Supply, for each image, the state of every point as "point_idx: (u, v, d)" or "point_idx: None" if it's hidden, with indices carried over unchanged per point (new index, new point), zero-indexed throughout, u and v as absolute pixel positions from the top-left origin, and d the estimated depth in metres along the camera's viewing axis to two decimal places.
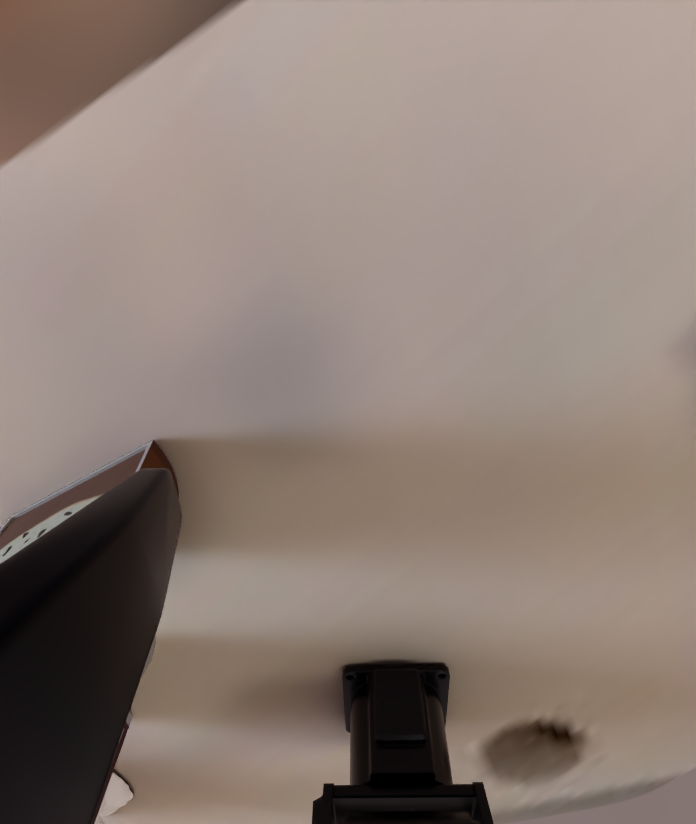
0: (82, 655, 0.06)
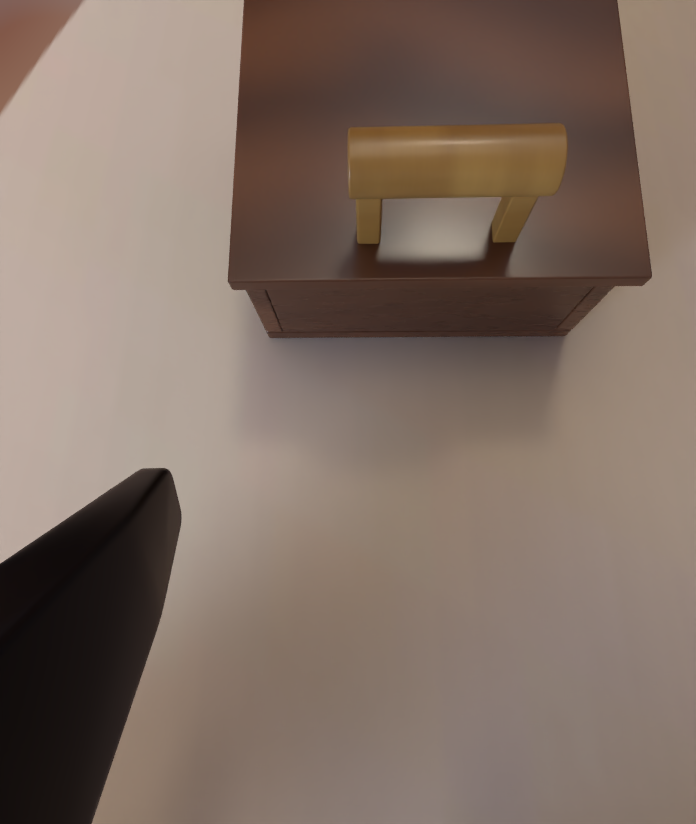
0: (82, 655, 0.06)
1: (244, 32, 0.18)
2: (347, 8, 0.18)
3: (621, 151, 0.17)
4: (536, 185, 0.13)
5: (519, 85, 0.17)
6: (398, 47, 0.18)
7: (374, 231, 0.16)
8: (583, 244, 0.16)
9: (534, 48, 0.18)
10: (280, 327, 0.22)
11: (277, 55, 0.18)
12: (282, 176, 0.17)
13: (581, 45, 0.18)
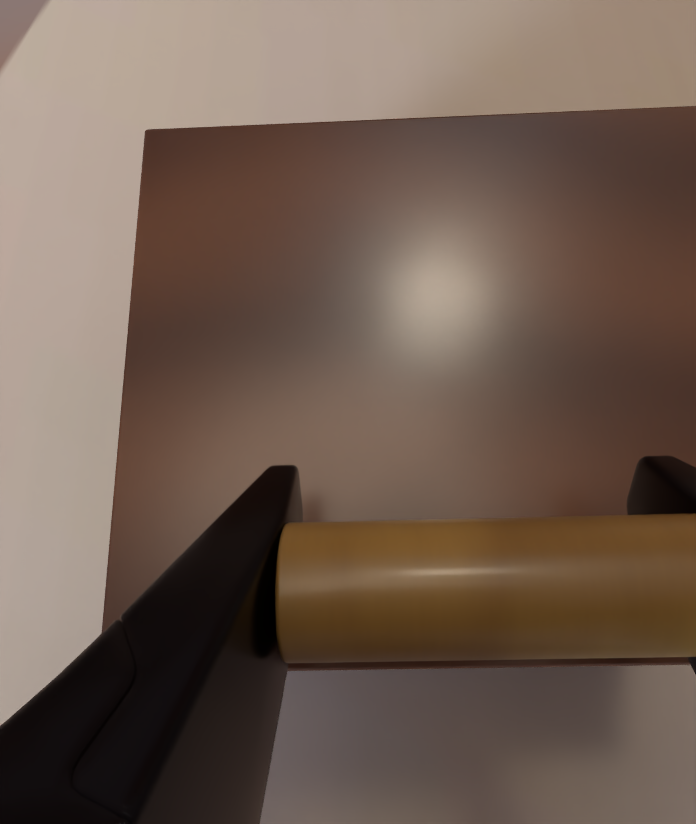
0: (259, 652, 0.06)
1: (141, 215, 0.12)
2: (301, 174, 0.12)
3: None
4: None
5: (578, 302, 0.11)
6: (381, 238, 0.11)
7: None
8: None
9: (596, 238, 0.11)
10: None
11: (191, 253, 0.11)
12: (195, 468, 0.10)
13: (671, 232, 0.11)
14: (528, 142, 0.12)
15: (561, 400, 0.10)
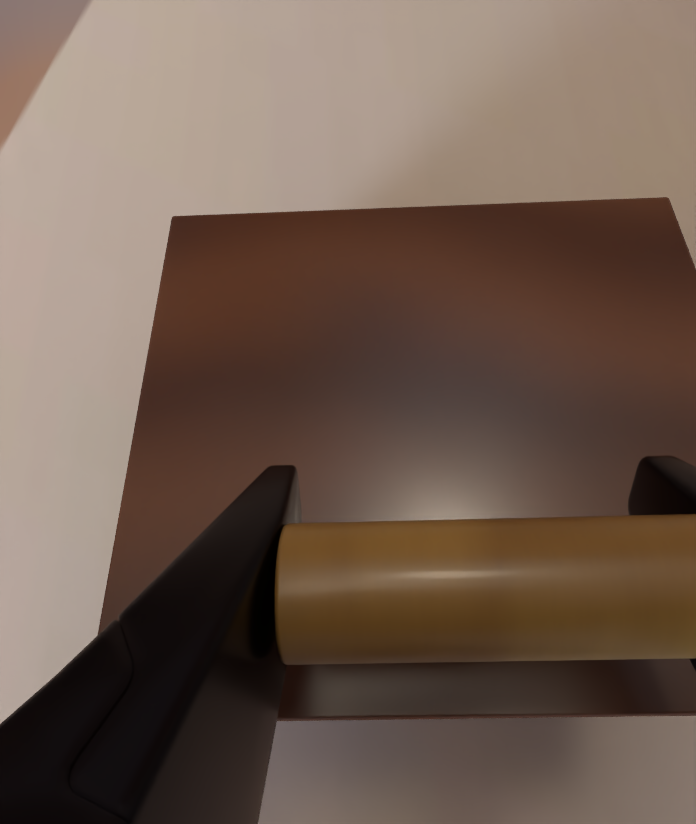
0: (257, 652, 0.06)
1: (163, 284, 0.13)
2: (308, 251, 0.13)
3: None
4: (683, 654, 0.06)
5: (566, 357, 0.12)
6: (381, 303, 0.12)
7: None
8: None
9: (578, 303, 0.12)
10: None
11: (206, 315, 0.12)
12: (198, 509, 0.10)
13: (646, 297, 0.12)
14: (511, 225, 0.13)
15: (556, 445, 0.11)
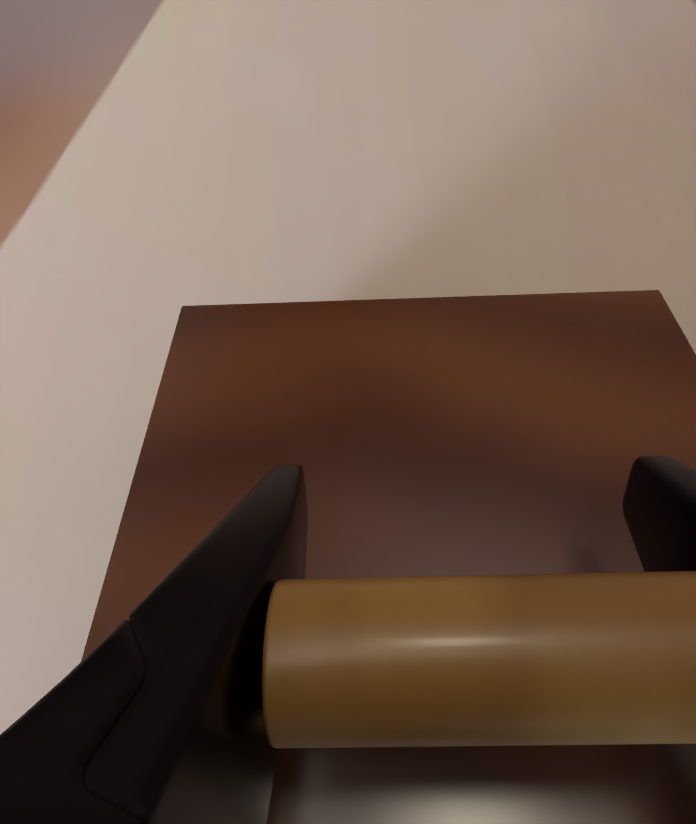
0: None
1: (167, 366, 0.13)
2: (312, 336, 0.14)
3: None
4: None
5: (573, 434, 0.11)
6: (384, 383, 0.12)
7: None
8: None
9: (581, 383, 0.12)
10: None
11: (208, 395, 0.12)
12: None
13: (648, 378, 0.12)
14: (509, 314, 0.14)
15: (570, 523, 0.10)
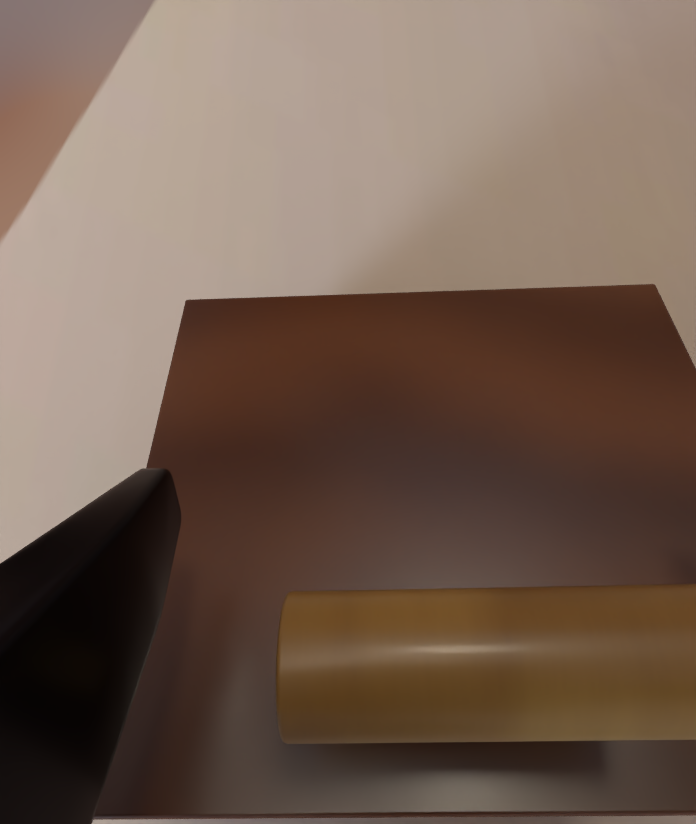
0: (82, 655, 0.06)
1: (174, 362, 0.13)
2: (314, 331, 0.14)
3: None
4: None
5: (566, 432, 0.12)
6: (384, 380, 0.13)
7: None
8: None
9: (574, 380, 0.13)
10: None
11: (214, 391, 0.13)
12: (198, 583, 0.10)
13: (640, 376, 0.13)
14: (507, 309, 0.14)
15: (560, 519, 0.11)
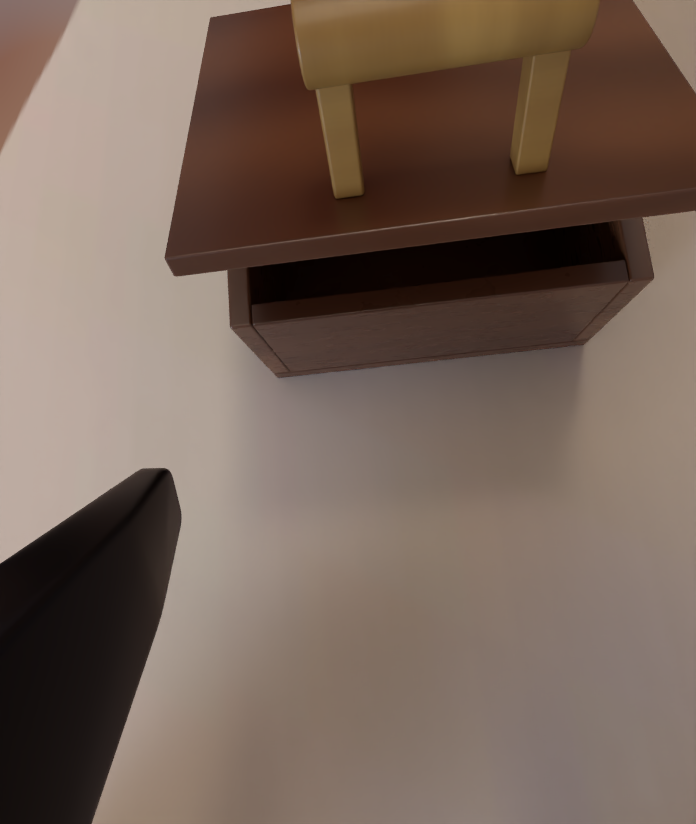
0: (82, 655, 0.06)
1: (205, 51, 0.17)
2: None
3: (662, 74, 0.13)
4: (564, 10, 0.09)
5: None
6: None
7: (353, 169, 0.12)
8: (642, 161, 0.12)
9: None
10: (287, 368, 0.22)
11: (240, 61, 0.16)
12: (240, 152, 0.14)
13: None
14: None
15: (511, 85, 0.14)
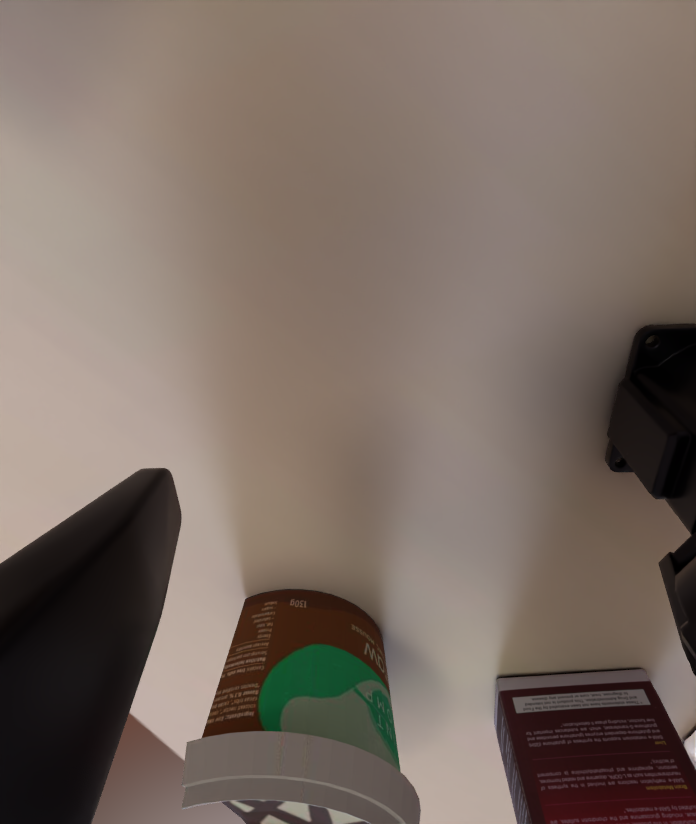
0: (82, 655, 0.06)
1: None
2: None
3: None
4: None
5: None
6: None
7: None
8: None
9: None
10: None
11: None
12: None
13: None
14: None
15: None
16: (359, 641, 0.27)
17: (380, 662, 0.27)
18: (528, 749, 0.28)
